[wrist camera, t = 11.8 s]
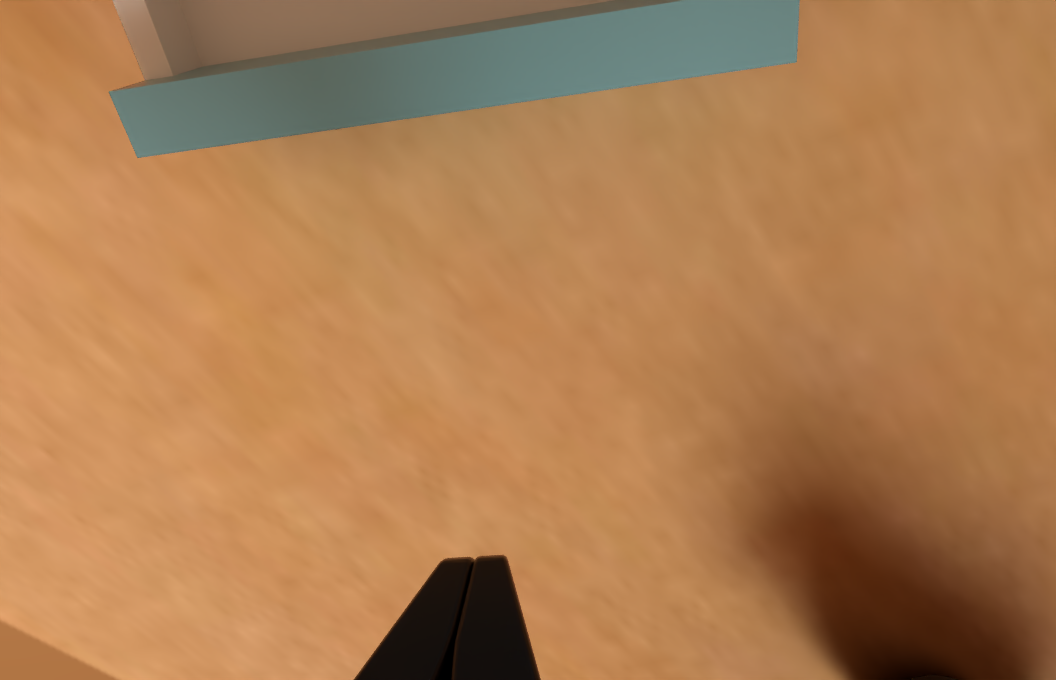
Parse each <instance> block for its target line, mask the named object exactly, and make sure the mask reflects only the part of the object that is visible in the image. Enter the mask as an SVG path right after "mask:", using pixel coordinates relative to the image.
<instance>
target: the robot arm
mask: <svg viewBox="0 0 1056 680" xmlns="http://www.w3.org/2000/svg"><path fill="white" fill-rule="evenodd" d="M354 680H541V679H540V675H539V672H538V668H537V664H536V661H535V657H534V653H533V650H532V646H531V643H530V639H529V635H528V632H527V628H526V624H525V621H524V617H523V614H522V610H521V606H520V603H519V599H518V595H517V592H516V588H515V584H514V581H513V577H512V574H511V570H510V566H509V563H508V560H507V557H506V556H504V555H492V556H480V557H477V558H476V559H475V560H474V559H473V558H471V557H459V558H447V559H444V560H442V561H441V562H440V563H439V564H438V566H437V567H436V568H435V570H434V571H433V572H432V574H431V575H430V577H429V578H428V579H427V581H426V582H425V583H424V585H423V586H422V587H421V589H420V590H419V591H418V593H417V594H416V596H415V597H414V598H413V600H412V601H411V602H410V604H409V605H408V606H407V608H406V609H405V611H404V612H403V613H402V615H401V616H400V617H399V619H398V620H397V621H396V623H395V624H394V626H393V627H392V628H391V630H390V631H389V632H388V634H387V635H386V636H385V638H384V639H383V641H382V642H381V643H380V645H379V646H378V647H377V649H376V650H375V651H374V653H373V654H372V656H371V657H370V658H369V660H368V661H367V662H366V664H365V665H364V666H363V668H362V669H361V671H360V672H359V673H358V675H357V676H356V677H355V679H354Z"/></svg>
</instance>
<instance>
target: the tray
mask: <svg viewBox="0 0 1056 680" xmlns="http://www.w3.org/2000/svg"><path fill="white" fill-rule="evenodd" d="M113 3H114V5H115V8H116V10H117V13H118V15H119V18H120V20H121V23H122V25H123V27H124V30H125V32H126V35H127V37H128V40H129V42H130V45H131V47H132V49H133V52H134V54H135V57H136V59H137V62H138V64H139V67H140V69H141V72H142V74H143V76H144V79H145V81H142V82H139V83H135V84H132V85H129V86H126V87H122V88H119V89H116V90H113V91H110V92H109V94H110V96H111V98H112V101H113V103H114V105H115V107H116V110H117V112H118V114H119V117H120V119H121V121H122V123H123V126H124V128H125V130H126V133H127V135H128V137H129V139H130V142H131V144H132V146H133V149H134V151H135V153H136V156H137V158H141V157H147V156H154V155H161V154H168V153H175V152H182V151H189V150H196V149H203V148H209V147H216V146H223V145H230V144H237V143H244V142H251V141H258V140H265V139H271V138H278V137H285V136H292V135H299V134H306V133H313V132H320V131H327V130H333V129H340V128H347V127H354V126H361V125H368V124H375V123H382V122H389V121H395V120H402V119H409V118H416V117H423V116H430V115H437V114H444V113H451V112H457V111H464V110H471V109H478V108H485V107H492V106H499V105H506V104H513V103H519V102H526V101H533V100H540V99H547V98H554V97H561V96H568V95H575V94H581V93H588V92H595V91H602V90H609V89H616V88H623V87H630V86H637V85H643V84H650V83H657V82H664V81H671V80H678V79H685V78H692V77H699V76H705V75H712V74H719V73H726V72H733V71H740V70H747V69H754V68H761V67H767V66H774V65H781V64H788V63H795V62H797V43H798V21H799V0H113Z"/></svg>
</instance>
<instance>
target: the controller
mask: <svg viewBox="0 0 1056 680" xmlns="http://www.w3.org/2000/svg"><path fill="white" fill-rule="evenodd" d="M911 680H957V679H953V678H950V677H946V676H937V675H928V676H922V677H916V678H913V679H911Z"/></svg>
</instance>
